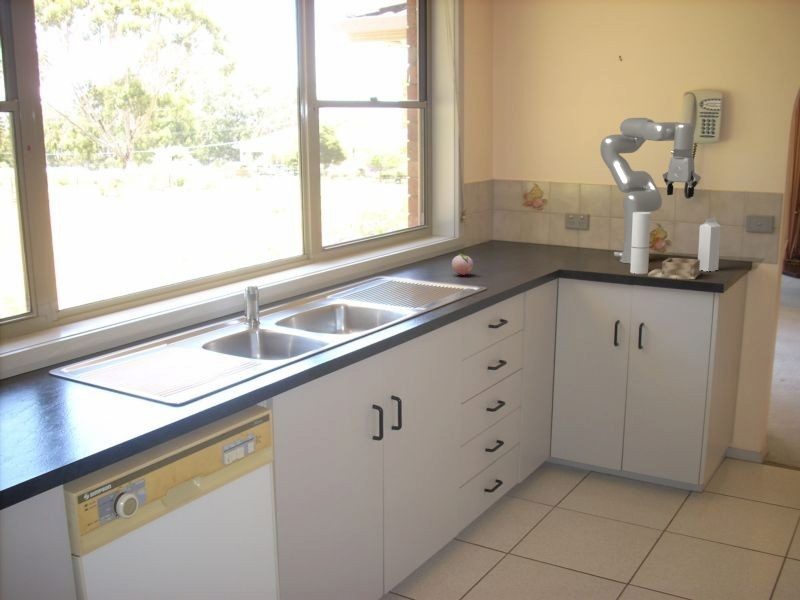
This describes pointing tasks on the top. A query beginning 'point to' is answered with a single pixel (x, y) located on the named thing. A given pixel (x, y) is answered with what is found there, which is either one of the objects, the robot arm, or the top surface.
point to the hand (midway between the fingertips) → (680, 195)
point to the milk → (709, 245)
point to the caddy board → (677, 269)
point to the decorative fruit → (462, 264)
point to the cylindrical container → (640, 242)
